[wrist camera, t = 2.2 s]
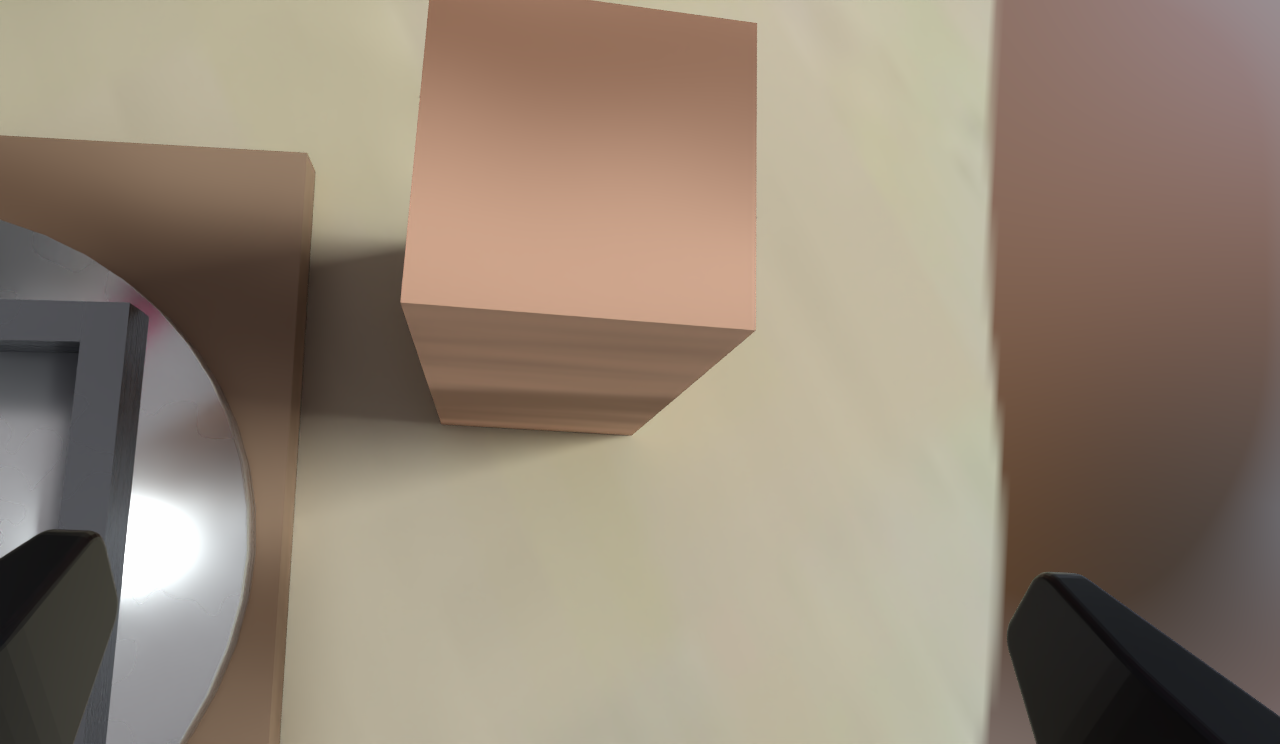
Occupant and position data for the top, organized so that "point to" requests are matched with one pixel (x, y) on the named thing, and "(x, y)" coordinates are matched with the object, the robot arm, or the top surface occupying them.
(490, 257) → the tan wooden block
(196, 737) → the walnut board
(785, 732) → the top surface
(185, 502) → the rosette plate
